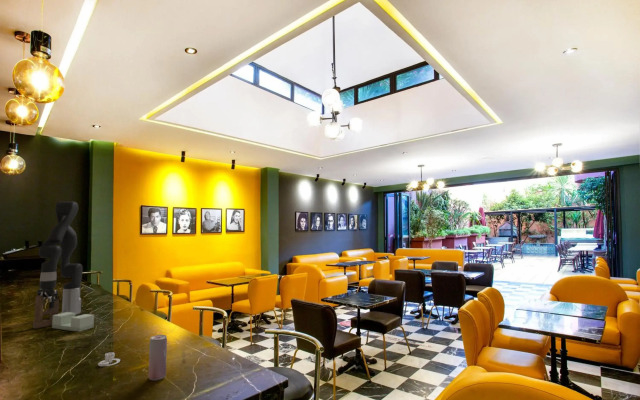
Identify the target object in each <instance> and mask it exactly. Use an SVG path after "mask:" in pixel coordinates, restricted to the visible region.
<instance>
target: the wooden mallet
mask: <svg viewBox="0 0 640 400" xmlns="http://www.w3.org/2000/svg"><path fill="white" fill-rule="evenodd" d="M43 302H44V303H45V299H44V296H43V295H39V296H37V295H36V296H35V307H34V321H33V322H32V327H33V329H41V328H47V327H52V320H53V315H57V314H59V310H60V309H59V308H60V300H59V299H58V300H56V301H55V302H54V308H51V309H49V307H48V308H47V309H46V310H45V311H44V307H43ZM44 315H45V316H46V315H49V318H48V319H43V318H44Z"/></svg>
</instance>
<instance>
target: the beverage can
mask: <svg viewBox="0 0 640 400" xmlns="http://www.w3.org/2000/svg"><path fill="white" fill-rule="evenodd" d="M167 349H168V339H167V335H164V334H159V335H158V334H156V335H153V336H151V337H150V340H149V350H148V351H149V354H148V356H149V357H148V358H149V359H148V379H149V380H150V381H154V382H155V381H159V380H162V379H164V378H166V376H167V351H168V350H167Z"/></svg>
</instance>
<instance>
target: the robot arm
mask: <svg viewBox="0 0 640 400" xmlns="http://www.w3.org/2000/svg"><path fill="white" fill-rule="evenodd" d="M78 211H79V204H78V202H76V201H71V200H70V201H64V200H63V201H62V200H61V201H58V202H56V204H55V215H56V220H57V224H55V226H53V227H52V229H51V231H50V233H49V235H48V238H47V239H46V240H45V241H44V242H43V244H41V245H40V247H39V249H38V253H37V254H38V256H39V257H40V258H50V259H49V260H48V261H45V262H42V263H41V269H40V276H39V277H40V278H39V289H37V291H36V296H40V295H43V296H44V300H45V299H46V298H47V299H48V301H49V303H48V308H49V309H51V308H54V302H55V301H57V300H59V298H58V297H59V296H58V294H59V290H58V289H54V288H56V287H57V277H58V275H57V270H58V269H57V264H58V262H59V260H60V275H61V277H62V278H63V279H64V278H65V279H68V278H70V279H71V278H72V279H71V281H69V282H67V283H64V284H63V289H62V290H63V291H62V305H61V313H65V312H72V313H76V314H75V316H77V315H79V314H81V313H82V311H81V310H82V309H81V308H82V298H81V286H82V285H81V284H82V279H83V268H84V267H83V265H82V264H81V263H71V261H70V260H71V256H72V254H73V252H74V250H76V247H77V245H78V234H77V233H76V231H75V230H74V228H73V227H72V226H71V224H72V223H73V220H74V219H75V217H76V216H77V214H78ZM44 307H45V301H44V302H43V308H44Z"/></svg>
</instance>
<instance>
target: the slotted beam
mask: <svg viewBox="0 0 640 400" xmlns="http://www.w3.org/2000/svg"><path fill="white" fill-rule="evenodd" d="M75 314H76V313H72V312H65V313H62V312H61V313H58V314H57V315H53V320H52V326H51V328H52V329H55V330H57V329H58V330H64V331H71V332H72V331H73V332H83V331H86V330H89V329H92V328H94V325H95V323H94V322H95V314H90V313H85V314H81V315H79V314H78V315H77V314H76V315H75Z"/></svg>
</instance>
